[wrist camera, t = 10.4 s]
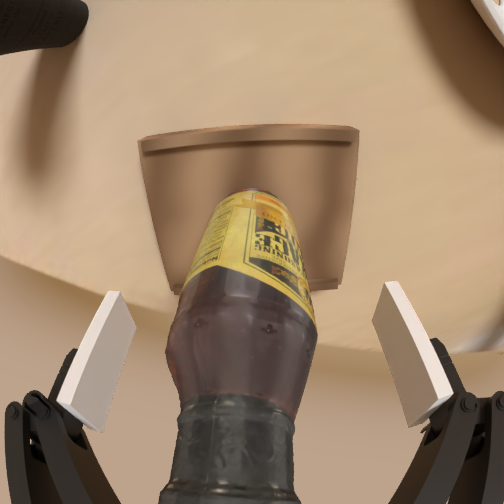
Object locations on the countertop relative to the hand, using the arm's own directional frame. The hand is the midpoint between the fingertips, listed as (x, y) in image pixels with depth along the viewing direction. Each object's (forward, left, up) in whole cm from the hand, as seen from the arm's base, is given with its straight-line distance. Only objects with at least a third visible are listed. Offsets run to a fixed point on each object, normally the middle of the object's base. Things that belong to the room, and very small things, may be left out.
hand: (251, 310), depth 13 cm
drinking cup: (+15, -20, -12) cm, 28 cm away
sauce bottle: (0, 0, -10) cm, 10 cm away
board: (0, 0, -12) cm, 12 cm away
